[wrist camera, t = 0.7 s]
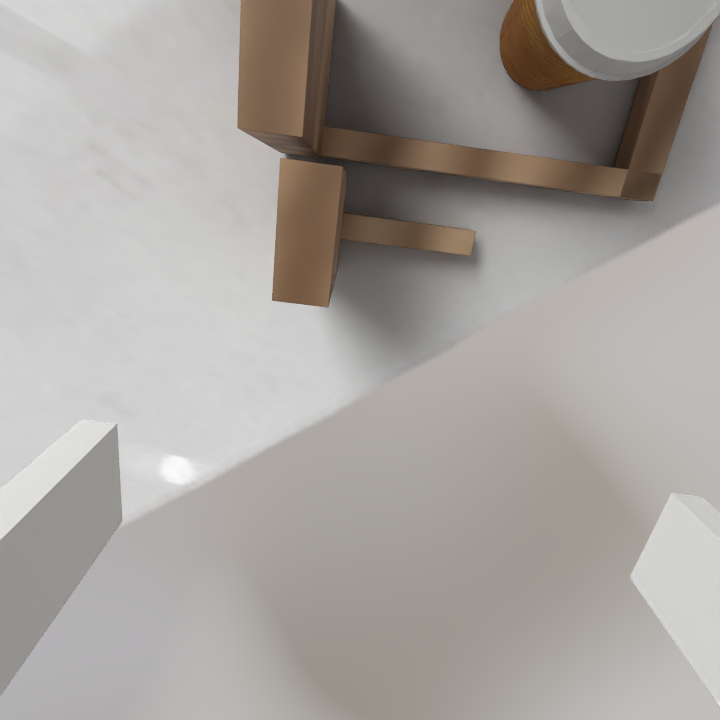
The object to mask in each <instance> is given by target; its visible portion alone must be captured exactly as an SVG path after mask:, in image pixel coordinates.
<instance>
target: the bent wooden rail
mask: <svg viewBox="0 0 720 720" xmlns="http://www.w3.org/2000/svg"><path fill="white" fill-rule="evenodd" d="M335 7H336V0H241V17H240V54H239V91H238V127H237V128H239V129H240V130H242V131H244V132H246V133H247V134H249V135H251V136H253V137H254V138H256V139H258V140H260V141H261V142H263V143H265V144H267V145H269V146H270V147H272V148H274V149H276V150H277V151H279V152H281V153H286V154H293V155H300V156H307V157H315V158H322V157H325V158H332V159H340V160H347V161H354V162H361V163H368V164H376V165H383V166H390V167H397V168H404V169H412V170H419V171H426V172H433V173H440V174H448V175H455V176H462V177H469V178H476V179H483V180H491V181H498V182H505V183H512V184H519V185H527V186H534V187H541V188H548V189H555V190H563V191H570V192H577V193H584V194H591V195H599V196H606V197H613V198H620V199H627V200H635V201H653V200H654V197H655V194H656V191H657V188H658V185H659V182H660V179H661V176H662V173H663V170H664V167H665V164H666V161H667V158H668V155H669V152H670V149H671V146H672V143H673V140H674V137H675V134H676V131H677V128H678V125H679V122H680V119H681V116H682V113H683V110H684V107H685V104H686V101H687V98H688V95H689V92H690V89H691V86H692V83H693V80H694V78H695V75H696V72H697V69H698V66H699V63H700V60H701V57H702V54H703V51H704V48H705V45H706V42H707V39H708V36H709V33H710V30H711V27H712V24H713V23H712V24H711V25H710V27H709V28H708V29H707V31H706V32H705V33H704V34H703V36H702V37H701V38H700V39H699V40H698V41H697V42H696V43H695V44H694V45H693V46H692V47H691V48H690V49H689V50H688V51H687V52H686V53H685V54H683V55H682V56H681V57H679V58H678V59H677V60H675V61H674V62H672V63H671V64H670V65H668V66H666V67H664V68H662V69H660V70H658V71H656V72H654V73H652V74H650V75H646V76H643V77H641V79H640V82H639V86H638V89H637V92H636V96H635V99H634V102H633V106H632V109H631V112H630V116H629V119H628V122H627V126H626V129H625V132H624V136H623V139H622V142H621V146H620V149H619V152H618V156H617V159H616V163H615V166H614V168H613V167H606V166H599V165H592V164H585V163H578V162H571V161H564V160H557V159H550V158H543V157H536V156H529V155H522V154H515V153H508V152H501V151H494V150H487V149H480V148H473V147H466V146H459V145H452V144H445V143H438V142H431V141H424V140H417V139H410V138H403V137H396V136H389V135H382V134H375V133H368V132H361V131H354V130H347V129H340V128H333V127H326V126H325V120H326V109H327V98H328V86H329V75H330V64H331V53H332V41H333V30H334V19H335Z"/></svg>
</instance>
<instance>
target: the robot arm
mask: <svg viewBox="0 0 720 720" xmlns="http://www.w3.org/2000/svg"><path fill="white" fill-rule="evenodd" d="M121 522H122V505H121V487H120V469H119V451H118V433H117V424H116V423H108V422H99V421H91V420H83V419H82V420H80V421H79V422H78V423H77V424H76V425H74V426H73V427H72V428H71V429H70V430H69V431H67V432H66V433H65V434H64V435H63V436H62V437H60V438H59V439H58V440H57V441H56V442H55V443H53V444H52V445H51V446H50V447H49V448H48V449H46V450H45V451H44V452H43V453H42V454H40V455H39V456H38V457H37V458H36V459H35V460H33V461H32V462H31V463H30V464H29V465H28V466H26V467H25V468H24V469H23V470H22V471H21V472H19V473H18V474H17V475H16V476H15V477H14V478H12V479H11V480H10V481H9V482H8V483H6V484H5V485H4V486H3V487H2V488H1V489H0V696H1V695H2V693H3V692H4V690H5V689H6V688H7V686H8V685H9V683H10V682H11V680H12V679H13V678H14V676H15V675H16V673H17V672H18V670H19V669H20V667H21V666H22V664H23V663H24V662H25V660H26V659H27V657H28V656H29V655H30V653H31V652H32V650H33V649H34V647H35V646H36V644H37V643H38V642H39V640H40V639H41V637H42V636H43V634H44V633H45V632H46V630H47V629H48V627H49V626H50V624H51V623H52V621H53V620H54V619H55V617H56V616H57V614H58V613H59V611H60V610H61V609H62V607H63V606H64V604H65V603H66V601H67V600H68V598H69V597H70V596H71V594H72V593H73V591H74V590H75V588H76V587H77V585H78V584H79V583H80V581H81V580H82V578H83V577H84V575H85V574H86V573H87V571H88V570H89V568H90V567H91V565H92V564H93V563H94V561H95V560H96V558H97V557H98V555H99V554H100V552H101V551H102V550H103V548H104V547H105V545H106V544H107V542H108V541H109V540H110V538H111V536H112V535H113V534H114V532H115V531H116V530H117V528H118V527H119V525H120V524H121ZM630 579H631V580H632V581H633V583H634V584H635V586H636V587H637V589H638V590H639V591H640V593H641V594H642V596H643V597H644V599H645V600H646V602H647V603H648V604H649V606H650V607H651V609H652V610H653V612H654V613H655V614H656V616H657V617H658V619H659V620H660V622H661V623H662V624H663V626H664V627H665V629H666V630H667V632H668V633H669V634H670V636H671V637H672V639H673V640H674V641H675V643H676V644H677V646H678V647H679V649H680V650H681V651H682V653H683V654H684V656H685V657H686V659H687V660H688V662H689V663H690V665H691V666H692V667H693V668H694V670H695V672H696V673H697V674H698V676H699V677H700V679H701V680H702V682H703V683H704V685H705V686H706V687H707V689H708V690H709V692H710V693H711V695H712V696H713V697H714V699H715V700H716V702H717V703H718V705H719V706H720V513H719V512H718V511H717V510H716V509H715V508H714V507H713V506H712V505H710V504H709V503H708V502H707V501H706V500H705V499H704V498H703V497H701V496H694V495H686V494H678V493H671V495H670V497H669V499H668V501H667V503H666V505H665V507H664V509H663V511H662V513H661V515H660V517H659V519H658V521H657V523H656V525H655V527H654V529H653V532H652V533H651V535H650V537H649V539H648V541H647V543H646V545H645V547H644V550H643V552H642V553H641V556H640V558H639V559H638V562H637V563H636V565H635V568H634V570H633V572H632V574H631V576H630Z"/></svg>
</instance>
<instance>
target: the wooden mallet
mask: <svg viewBox="0 0 720 720" xmlns="http://www.w3.org/2000/svg"><path fill="white" fill-rule="evenodd" d="M346 186H347V175H346V173H345V170H344V168H343V166H336V165H329V164H321V163H314V162H307V161H300V160H292V159H285V158H280V174H279V191H278V208H277V225H276V242H275V259H274V276H273V293H272V301H280V302H288V303H296V304H304V305H313V306H321V307H328V306H329V302H330V298H331V294H332V289H333V285H334V281H335V277H336V273H337V269H338V260H339V250H340V241H341V239H345V240H353V241H361V242H368V243H376V244H384V245H392V246H399V247H407V248H415V249H422V250H430V251H438V252H446V253H453V254H461V255H469V256H471V253H472V248H473V243H474V238H475V234H476V231H473V230H470V229H462V228H455V227H447V226H440V225H432V224H425V223H417V222H410V221H402V220H394V219H387V218H379V217H372V216H364V215H357V214H349V213H344V204H345V195H346Z"/></svg>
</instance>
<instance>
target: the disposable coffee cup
mask: <svg viewBox="0 0 720 720" xmlns="http://www.w3.org/2000/svg"><path fill="white" fill-rule="evenodd" d="M719 14H720V0H514V1H513V3H512V5H511V7H510V9H509V11H508V13H507V15H506V17H505V19H504V22H503V25H502V29H501V34H500V53H501V58H502V62H503V65H504V67H505V69H506V71H507V73H508V74H509V75H510V77H511V78H512V79H513V80H514V81H515V82H517V83H518V84H519V85H521V86H522V87H525V88H527V89H531V90H538V91H540V90H548V89H552V88H556V87H561V86H566V85H572V84H576V83H581V82H586V81H590V80H595V79H601V80H606V81H623V80H631V79H636V78H639V77H643V76H646V75H650V74H652V73H654V72H656V71H658V70H660V69H662V68H664V67H666V66H668V65H670V64H671V63H672V62H674V61H675V60H677V59H678V58H679V57H681V56H682V55H683V54H685V53H686V52H687V51H688V50H689V49H690V48H691V47H692V46H693V45H694V44H695V43H696V42H697V41H698V40H699V39H700V38H701V37H702V36H703V34H704V33H705V32H706V31H707V29H708V28H709V27H710V25H711V24H712V23H713V21H714V20H715V19H716V18H717V17H718V16H719Z"/></svg>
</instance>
